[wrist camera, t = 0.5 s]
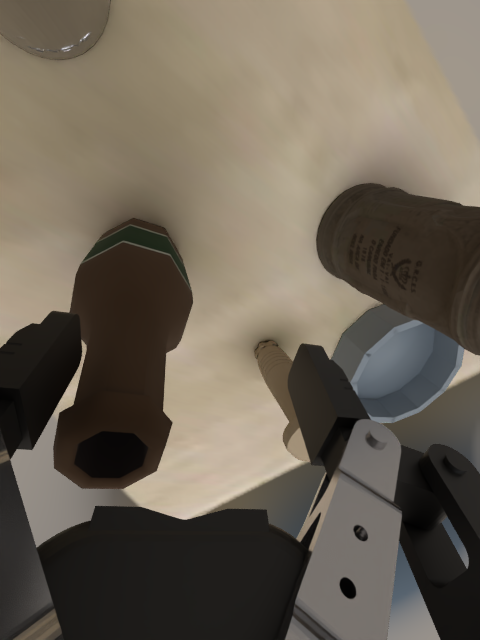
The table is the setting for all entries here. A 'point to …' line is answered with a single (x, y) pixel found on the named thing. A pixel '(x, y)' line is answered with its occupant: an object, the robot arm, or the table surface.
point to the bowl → (396, 363)
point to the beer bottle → (123, 356)
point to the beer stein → (408, 256)
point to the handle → (282, 393)
